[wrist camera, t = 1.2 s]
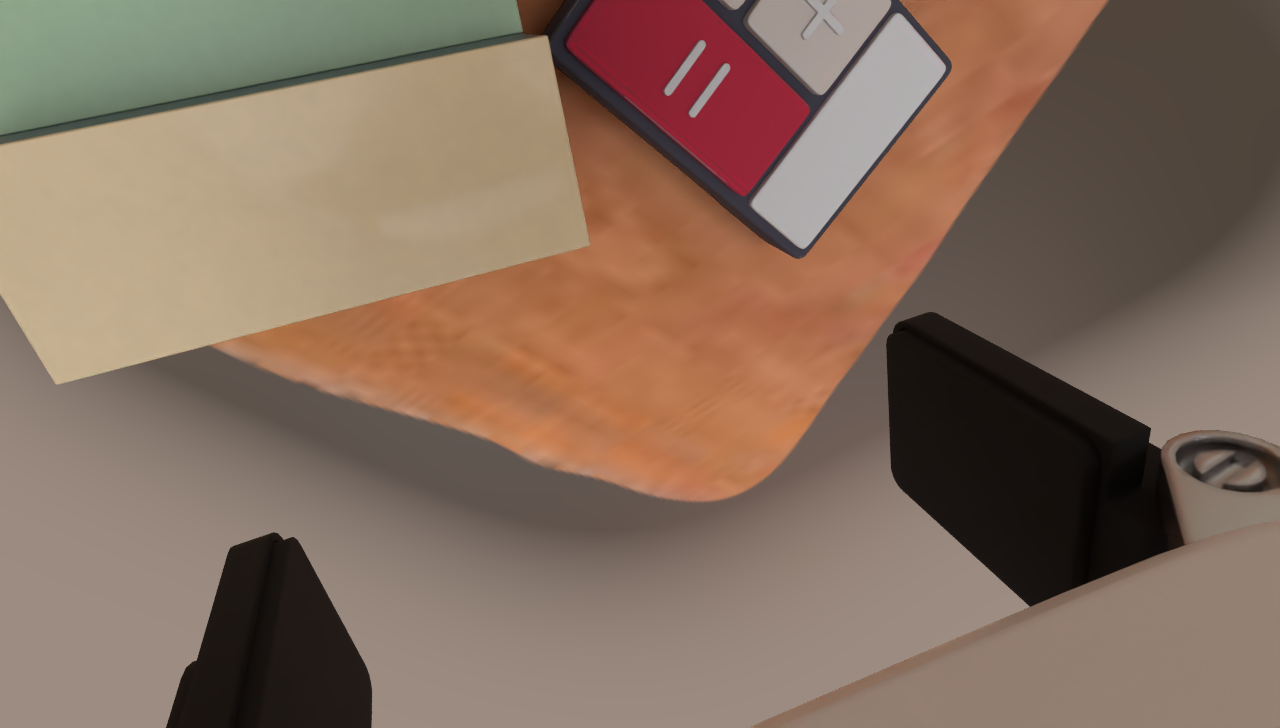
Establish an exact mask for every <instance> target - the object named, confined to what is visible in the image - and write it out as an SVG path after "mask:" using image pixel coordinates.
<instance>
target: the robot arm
mask: <svg viewBox="0 0 1280 728" xmlns="http://www.w3.org/2000/svg"><path fill="white" fill-rule="evenodd" d="M886 346H887V373H888V400H889V427H890V453H891V470H892V473H893V477H894V479H895V481H896V483H897V484H898V486H899V487H900V488H901V489H902V490H903V491H904V492H905V493H906V494H907V495H908V496H909V497H910V498H911V499H913V500H914V501H915V502H916V503H917V504H918V505H919V506H920V507H921V508H922V509H923V510H925V511H926V512H927V513H928V514H929V515H930V516H931V517H932V518H933V519H934V520H936V521H937V522H938V523H939V524H940V525H941V526H942V527H943V528H944V529H945V530H947V531H948V532H949V533H950V534H951V535H952V536H953V537H954V538H955V539H957V540H958V541H959V542H960V543H961V544H962V545H963V546H964V547H965V548H966V549H967V550H968V551H970V552H971V553H972V554H973V555H974V556H975V557H976V558H977V559H978V560H980V561H981V562H982V563H983V564H984V565H985V566H986V567H987V568H988V569H989V570H990V571H992V572H993V573H994V574H995V575H996V576H997V577H998V578H999V579H1000V580H1001V581H1002V582H1004V583H1005V584H1006V585H1007V586H1008V587H1009V588H1010V589H1011V590H1012V591H1014V592H1015V593H1016V594H1017V595H1018V596H1019V597H1020V598H1021V599H1022V600H1023V601H1024V602H1026V603H1027V604H1028V605H1029V606H1030V607H1029V608H1027V609H1024V610H1022V611H1020V612H1017V613H1015V614H1013V615H1010V616H1008V617H1005V618H1003V619H1001V620H998V621H996V622H994V623H991V624H989V625H987V626H984V627H982V628H980V629H977V630H975V631H972V632H970V633H968V634H966V635H963V636H961V637H958V638H956V639H954V640H951V641H949V642H947V643H944V644H942V645H940V646H937V647H935V648H932V649H930V650H928V651H926V652H923V653H921V654H918V655H916V656H914V657H911V658H909V659H907V660H904V661H902V662H900V663H897V664H895V665H893V666H891V667H888V668H886V669H883V670H881V671H879V672H877V673H874V674H872V675H869V676H867V677H865V678H863V679H860V680H858V681H856V682H853V683H851V684H849V685H847V686H844V687H842V688H839V689H837V690H835V691H832V692H830V693H828V694H825V695H823V696H821V697H819V698H816V699H814V700H812V701H809V702H807V703H805V704H802V705H800V706H798V707H796V708H793V709H791V710H789V711H786V712H784V713H782V714H779V715H777V716H775V717H772V718H770V719H768V720H765V721H763V722H761V723H758V724H756V725H754V726H751V727H749V728H1280V447H1279V446H1277V445H1275V444H1272V443H1269V442H1267V441H1265V440H1263V439H1260V438H1256V437H1253V436H1249V435H1245V434H1241V433H1236V432H1228V431H1220V430H1205V431H1204V430H1203V431H1202V430H1201V431H1193V432H1188V433H1183V434H1179V435H1178V436H1175V437H1173V438H1171V439H1170V440H1168V441H1167V442H1166V444H1165V445H1164V446H1163V447H1162V449H1160V448H1158V447H1156V446H1154V445H1153V444H1151V443H1149V437H1150V431H1151V428H1149V427H1148V426H1146V425H1144V424H1142V423H1140V422H1139V421H1137V420H1135V419H1133V418H1131V417H1129V416H1127V415H1125V414H1123V413H1122V412H1120V411H1118V410H1116V409H1114V408H1112V407H1111V406H1109V405H1107V404H1105V403H1103V402H1101V401H1099V400H1097V399H1096V398H1094V397H1092V396H1090V395H1088V394H1086V393H1084V392H1083V391H1081V390H1079V389H1077V388H1075V387H1073V386H1071V385H1069V384H1067V383H1066V382H1064V381H1062V380H1060V379H1058V378H1056V377H1054V376H1052V375H1051V374H1049V373H1047V372H1045V371H1043V370H1041V369H1039V368H1038V367H1036V366H1034V365H1032V364H1030V363H1028V362H1026V361H1024V360H1023V359H1021V358H1019V357H1017V356H1015V355H1013V354H1012V353H1010V352H1008V351H1006V350H1004V349H1002V348H1000V347H999V346H997V345H995V344H993V343H991V342H989V341H987V340H985V339H984V338H981V337H980V336H978V335H976V334H974V333H972V332H970V331H968V330H967V329H965V328H963V327H961V326H959V325H957V324H955V323H954V322H952V321H950V320H948V319H946V318H944V317H942V316H941V315H939V314H937V313H934V312H928V313H925V314H922V315H919V316H916V317H913V318H910V319H907V320H904V321H901V322H898V323H897V324H896V325H895V328H894V330H893V334H890V335H889V336H888V338H887V344H886ZM371 720H372V687H371V681H370V676H369V673H368V670H367V668H366V665H365V663H364V662H363V660H362V658H361V656H360V654H359V652H358V650H357V649H356V647H355V645H354V643H353V641H352V639H351V637H350V636H349V634H348V632H347V630H346V628H345V626H344V624H343V623H342V621H341V619H340V617H339V615H338V613H337V612H336V610H335V608H334V606H333V604H332V602H331V600H330V599H329V597H328V595H327V593H326V591H325V590H324V587H323V585H322V584H321V582H320V580H319V578H318V576H317V574H316V572H315V571H314V569H313V567H312V565H311V563H310V561H309V560H308V558H307V556H306V554H305V552H304V550H303V548H302V547H301V545H300V543H299V542H298V540H297V539H295V538H294V537H291V538H288V539H286V540H283V538H282V537H281V536H280V535H279V534H278V533H271V534H268V535H265V536H262V537H259V538H256V539H253V540H250V541H247V542H244V543H241V544H238V545H235V546H233V547H231V548H230V550H229V552H228V555H227V558H226V562H225V565H224V569H223V572H222V576H221V579H220V582H219V586H218V589H217V593H216V596H215V600H214V603H213V606H212V610H211V613H210V617H209V620H208V624H207V627H206V631H205V634H204V638H203V641H202V644H201V648H200V651H199V655H198V658H197V661H194V662H192V663H191V664H190V665H189V666H187V667H186V669H185V671H184V674H183V676H182V678H181V681H180V684H179V687H178V690H177V694H176V697H175V700H174V704H173V707H172V710H171V713H170V717H169V720H168V723H167V727H166V728H371Z"/></svg>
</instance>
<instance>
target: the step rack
mask: <svg viewBox="0 0 1280 728" xmlns="http://www.w3.org/2000/svg"><path fill="white" fill-rule="evenodd" d="M522 32H523V28H522V24H521V19H520V15H519V10H518V6H517V1H516V0H0V295H1V296H2V298H3V300H4V301H5V303H6V304H7V306H8V308H9V309H10V311H11V312H12V314H13V316H14V317H15V319H16V321H17V322H18V324H19V325H20V327H21V329H22V330H23V332H24V334H25V335H26V337H27V338H28V340H29V342H30V343H31V345H32V347H33V348H34V350H35V351H36V353H37V355H38V356H39V358H40V359H41V361H42V363H43V364H44V366H45V368H46V369H47V371H48V372H49V374H50V376H51V377H52V379H53V380H54V382H55V384H62V383H66V382H69V381H73V380H77V379H81V378H85V377H89V376H92V375H96V374H100V373H104V372H108V371H112V370H116V369H119V368H123V367H127V366H131V365H135V364H139V363H142V362H146V361H150V360H154V359H158V358H162V357H165V356H169V355H173V354H177V353H181V352H184V351H188V350H192V349H196V348H200V347H204V346H208V345H211V344H215V343H219V342H223V341H227V340H231V339H234V338H238V337H242V336H246V335H250V334H254V333H257V332H261V331H265V330H269V329H273V328H277V327H280V326H284V325H288V324H292V323H296V322H300V321H303V320H307V319H311V318H315V317H319V316H323V315H326V314H330V313H334V312H338V311H342V310H346V309H350V308H353V307H357V306H361V305H365V304H369V303H373V302H376V301H380V300H384V299H388V298H392V297H396V296H399V295H403V294H407V293H411V292H415V291H419V290H422V289H426V288H430V287H434V286H438V285H442V284H445V283H449V282H453V281H457V280H461V279H465V278H468V277H472V276H476V275H480V274H484V273H488V272H491V271H495V270H499V269H503V268H507V267H511V266H514V265H518V264H522V263H526V262H530V261H534V260H537V259H541V258H545V257H549V256H553V255H557V254H560V253H564V252H568V251H572V250H576V249H580V248H583V247H587V246H590V240H589V235H588V230H587V225H586V220H585V216H584V211H583V206H582V201H581V196H580V191H579V186H578V181H577V177H576V172H575V167H574V162H573V157H572V152H571V147H570V142H569V137H568V133H567V128H566V123H565V118H564V113H563V108H562V103H561V98H560V94H559V89H558V84H557V79H556V74H555V69H554V64H553V59H552V55H551V50H550V45H549V40H548V36H546V35H534V34H526V33H522Z"/></svg>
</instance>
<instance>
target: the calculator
mask: <svg viewBox="0 0 1280 728" xmlns="http://www.w3.org/2000/svg"><path fill="white" fill-rule="evenodd" d="M542 35H546V36H548V40H549V45H550V50H551V55H552V59H553V64H554V65H555V66H556V67H557V68H558V69H560V70H561V71H562V72H563V73H564V74H566V75H567V76H568V77H569V78H570V79H572V80H573V81H574V82H575V83H576V84H578V85H579V86H580V87H581V88H582V89H584V90H585V91H586V92H587V93H588V94H590V95H591V96H592V97H593V98H594V99H596V100H597V101H598V102H599V103H601V104H602V105H603V106H604V107H605V108H607V109H608V110H609V111H610V112H611V113H613V114H614V115H615V116H616V117H617V118H619V119H620V120H621V121H622V122H623V123H625V124H626V125H627V126H628V127H629V128H631V129H632V130H633V131H634V132H635V133H637V134H638V135H639V136H640V137H642V138H643V139H644V140H645V141H646V142H648V143H649V144H650V145H651V146H652V147H654V148H655V149H656V150H657V151H658V152H660V153H661V154H662V155H663V156H664V157H666V158H667V159H668V160H669V161H670V162H672V163H673V164H674V165H675V166H676V167H678V168H679V169H680V170H681V171H683V172H684V173H685V174H686V175H687V176H689V177H690V178H691V179H692V180H693V181H695V182H696V183H697V184H698V185H699V186H701V187H702V188H703V189H704V190H705V191H707V192H708V193H709V194H710V195H711V196H712V197H713V198H714V199H715V200H717V201H718V202H719V203H720V204H721V205H722V206H723V207H724V208H726V209H727V210H728V211H729V212H730V213H732V214H733V215H734V216H735V217H736V218H738V219H739V220H740V221H741V222H742V223H744V224H745V225H746V226H747V227H748V228H750V229H751V230H752V231H753V232H755V233H756V234H757V235H758V236H759V237H761V238H762V239H763V240H764V241H766V242H768V243H769V244H771V245H773V246H774V247H776V248H778V249H780V250H781V251H783V252H785V253H787V254H788V255H790V256H792V257H794V258H797V259H800V258H803V257H804V256H805V255H806V254H807V253H808V252H809V251H810V249H811V248H812V247H813V246H814V244H815V243H816V242H817V241H818V239H819V238H820V237H821V236H822V234H823V233H824V232H825V231H826V229H827V228H828V227H829V225H830V224H831V223H832V222H833V220H834V219H835V218H836V217H837V215H838V214H839V213H840V212H841V210H842V209H843V208H844V207H845V205H846V204H847V203H848V201H849V200H850V199H851V198H852V196H853V195H854V194H855V193H856V191H857V190H858V189H859V188H860V186H861V185H862V184H863V183H864V181H865V180H866V179H867V177H868V176H869V175H870V174H871V172H872V171H873V170H874V169H875V167H876V166H877V165H878V164H879V162H880V161H881V160H882V159H883V157H884V156H885V155H886V153H887V152H888V151H889V150H890V148H891V147H892V146H893V145H894V143H895V142H896V141H897V140H898V138H899V137H900V136H901V135H902V133H903V132H904V131H905V129H906V128H907V127H908V126H909V124H910V123H911V122H912V121H913V119H914V118H915V117H916V116H917V114H918V113H919V112H920V111H921V109H922V108H923V107H924V105H925V104H926V103H927V102H928V100H929V99H930V98H931V97H932V95H933V94H934V93H935V92H936V90H937V89H938V88H939V87H940V85H941V84H942V83H943V81H944V80H945V79H946V78H947V76H948V75H949V73H950V71H951V68H952V65H951V61H950V60H949V58H948V57H947V56H946V55H945V53H944V52H943V51H942V50H941V49H940V48H939V46H938V45H937V44H936V43H935V42H934V41H933V39H932V38H931V37H930V36H929V35H928V34H927V32H926V31H925V30H924V29H923V28H922V27H921V25H920V24H919V23H918V22H917V21H916V20H915V18H914V17H913V16H912V15H911V14H910V13H909V11H908V10H907V9H906V8H905V7H904V6H903V4H902V3H901V2H900V1H899V0H565V1H564V3H563V4H562V6H561V7H560V9H559V10H558V12H557V13H556V15H555V16H554V18H553V19H552V21H551V22H550V23H549V25H548V26H547V28H546V29H545V31H544V32H543V34H542Z"/></svg>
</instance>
